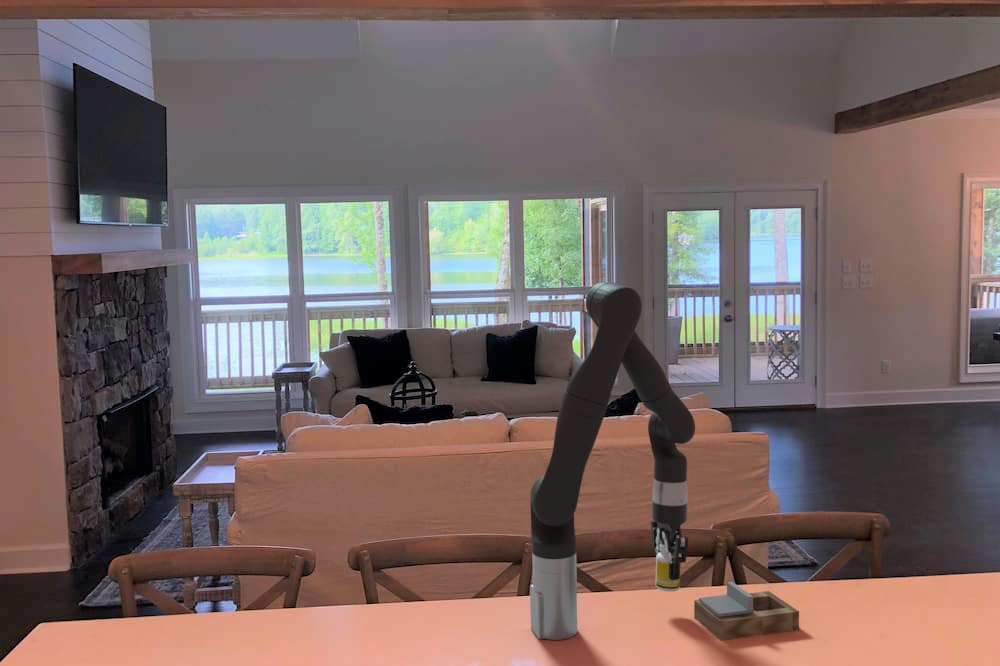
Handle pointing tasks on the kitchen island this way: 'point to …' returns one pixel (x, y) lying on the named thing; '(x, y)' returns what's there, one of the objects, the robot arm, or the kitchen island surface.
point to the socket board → (751, 618)
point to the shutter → (730, 602)
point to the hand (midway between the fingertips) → (668, 574)
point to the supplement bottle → (665, 572)
